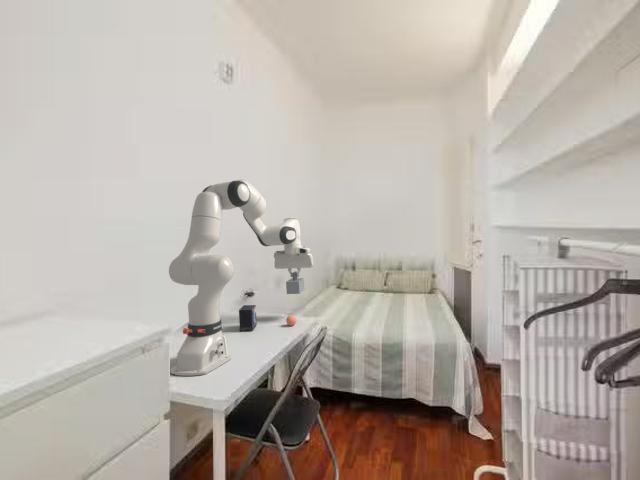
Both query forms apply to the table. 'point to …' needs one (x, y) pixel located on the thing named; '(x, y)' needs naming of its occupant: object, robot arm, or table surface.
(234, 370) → the table surface
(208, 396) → the table surface
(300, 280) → the gray hook block
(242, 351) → the table surface
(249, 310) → the small box
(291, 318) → the ball
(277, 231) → the robot arm
